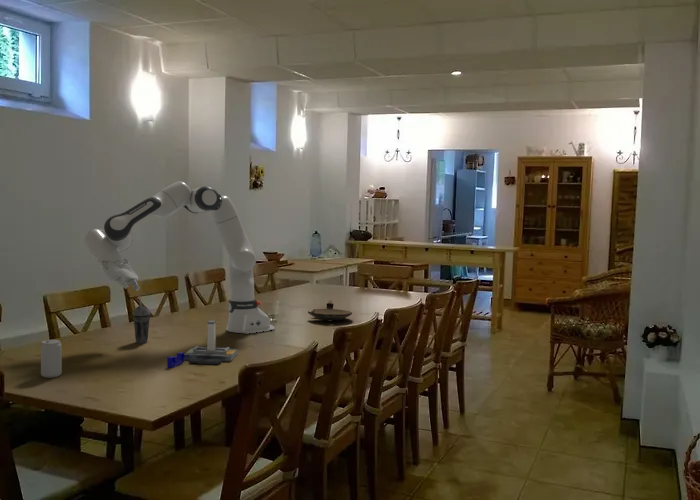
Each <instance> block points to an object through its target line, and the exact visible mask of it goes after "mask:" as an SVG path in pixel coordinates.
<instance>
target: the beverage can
mask: <svg viewBox="0 0 700 500" xmlns="http://www.w3.org/2000/svg"><path fill="white" fill-rule="evenodd" d="M41 343H42V344H41V345H40V375H41V376H42V377H43V378H47V379H51V378H52V379H53V378H57V377H60V375H61V374H62V373H63V371H62V368H63V365H62V361H63V359H62V357H63V356H62V355H63V353H62V352H63V351H62V348H63V347H62V343H61V340H60V339H46V340H42V341H41Z"/></svg>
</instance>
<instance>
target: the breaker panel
mask: <svg viewBox="0 0 700 500" xmlns="http://www.w3.org/2000/svg"><path fill="white" fill-rule="evenodd" d="M226 347H227V348H215V351H212V350H207V348H206V347H204V346H202V347H200V346H199V345H196V346H195V347H191V348H190V349H189V350H187V351H186V352H184V361H189V360H192V359H212V360H221V361H222V362H225V361H231V360H232V359H233V358H234V357H237V356H238V350H239V349H238V348H231V347H230V348H231V349H230V348H229V346H226ZM234 359H235V358H234ZM234 359H233V360H234ZM233 360H232V361H233ZM232 361H231V362H232Z"/></svg>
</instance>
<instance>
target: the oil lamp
mask: <svg viewBox="0 0 700 500" xmlns="http://www.w3.org/2000/svg"><path fill="white" fill-rule="evenodd" d="M307 313H308V314H309V315H310V316H312V317H314V318H316V319H318V320H320V321H327V320H337V321H340V320H344V319H346V318H347V317H350V316H351V315H352V314H353V312H352V311H350V310H343V309H337V308H334V303H333V301H332V300H331V299H329V300H328V302H327V303H326V308H314V309H312V310H311V311H307Z"/></svg>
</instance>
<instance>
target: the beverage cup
mask: <svg viewBox="0 0 700 500" xmlns="http://www.w3.org/2000/svg"><path fill="white" fill-rule="evenodd" d="M138 297H139V305H138V306H136V307H135V309H133V312H132V320H133V325H134V336H135V337H134V338H135V344H146V343H148V338H149V328H150V320H151V316H152V315H151V310H150V309H149V308H148V306H145V305H142V297H141V295H139V296H138Z"/></svg>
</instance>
